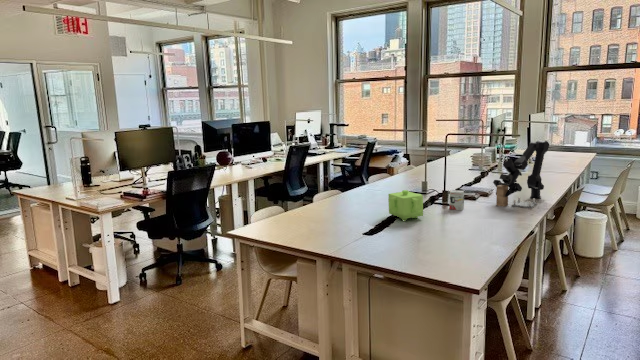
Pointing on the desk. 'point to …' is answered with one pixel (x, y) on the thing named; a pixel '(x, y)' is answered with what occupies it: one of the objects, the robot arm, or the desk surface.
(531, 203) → the peg plate
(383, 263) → the desk surface
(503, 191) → the walnut block
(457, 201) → the ink box
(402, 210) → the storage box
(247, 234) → the desk surface
